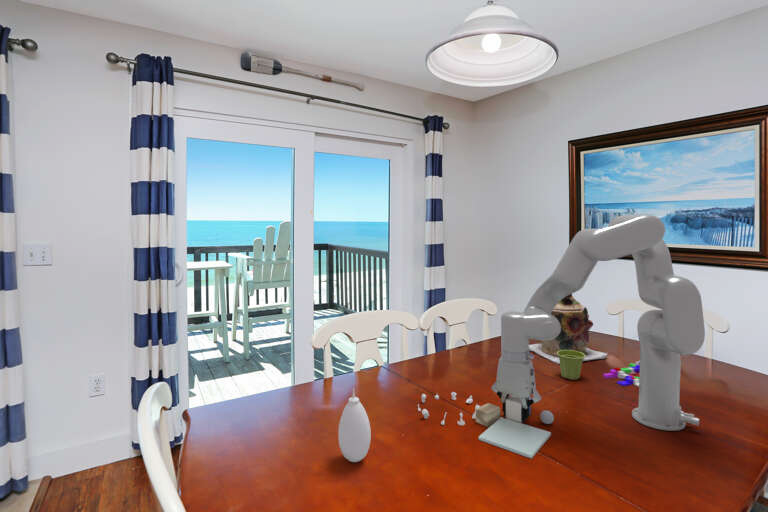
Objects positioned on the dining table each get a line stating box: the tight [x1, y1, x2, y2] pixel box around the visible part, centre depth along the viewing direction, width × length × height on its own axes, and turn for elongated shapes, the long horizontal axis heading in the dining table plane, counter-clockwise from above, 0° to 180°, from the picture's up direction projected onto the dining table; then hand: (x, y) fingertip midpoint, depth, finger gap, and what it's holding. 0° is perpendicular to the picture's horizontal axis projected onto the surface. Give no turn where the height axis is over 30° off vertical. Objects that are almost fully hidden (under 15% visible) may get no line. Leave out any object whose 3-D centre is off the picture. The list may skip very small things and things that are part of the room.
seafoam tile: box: [478, 416, 552, 459], centre depth 108 cm, size 14×14×1 cm
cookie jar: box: [529, 293, 608, 365], centre depth 175 cm, size 25×25×32 cm
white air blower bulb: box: [337, 387, 372, 463], centre depth 98 cm, size 8×8×18 cm
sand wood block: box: [475, 402, 501, 428], centre depth 117 cm, size 4×6×4 cm, turn 128°
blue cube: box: [529, 396, 532, 416], centre depth 123 cm, size 4×4×4 cm
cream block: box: [505, 395, 523, 423], centre depth 117 cm, size 4×4×6 cm
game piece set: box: [417, 391, 481, 426], centre depth 124 cm, size 19×20×4 cm
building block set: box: [602, 360, 640, 388], centre depth 147 cm, size 25×20×4 cm
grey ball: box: [539, 409, 555, 425], centre depth 115 cm, size 4×4×4 cm
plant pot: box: [557, 350, 585, 380], centre depth 149 cm, size 9×9×9 cm
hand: (515, 416), depth 117 cm, fingers closed on cream block, 4 cm apart
